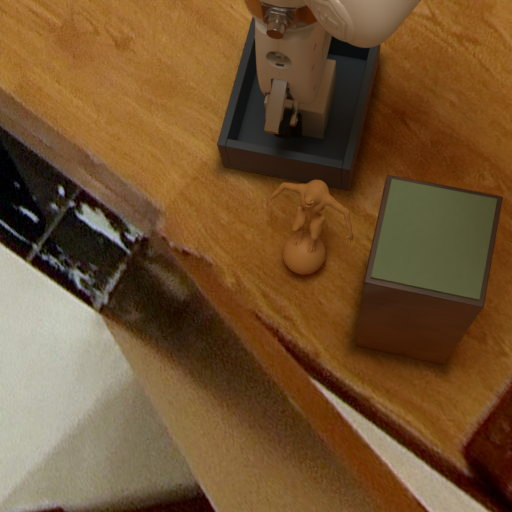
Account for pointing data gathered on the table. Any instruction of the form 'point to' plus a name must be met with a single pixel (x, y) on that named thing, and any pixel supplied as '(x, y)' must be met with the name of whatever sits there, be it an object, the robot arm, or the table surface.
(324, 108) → the beige block
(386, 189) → the stand
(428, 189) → the mat
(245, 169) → the tray
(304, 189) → the figurine
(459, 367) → the table surface
